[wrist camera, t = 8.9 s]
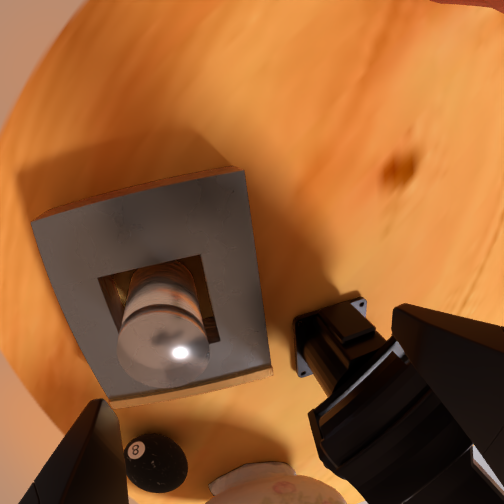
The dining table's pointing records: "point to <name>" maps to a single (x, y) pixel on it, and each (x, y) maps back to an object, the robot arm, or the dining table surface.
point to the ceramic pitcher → (271, 487)
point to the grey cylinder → (163, 328)
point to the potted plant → (476, 3)
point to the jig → (154, 252)
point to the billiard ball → (155, 463)
